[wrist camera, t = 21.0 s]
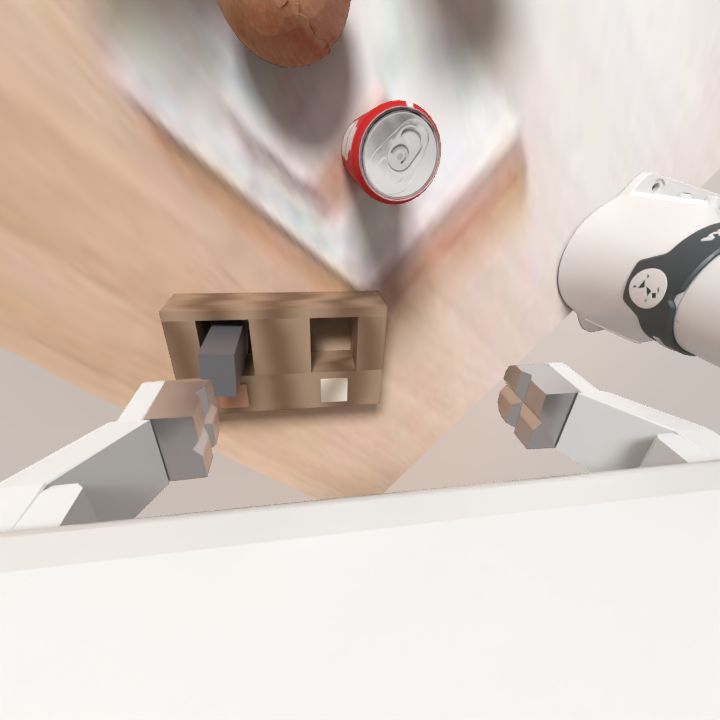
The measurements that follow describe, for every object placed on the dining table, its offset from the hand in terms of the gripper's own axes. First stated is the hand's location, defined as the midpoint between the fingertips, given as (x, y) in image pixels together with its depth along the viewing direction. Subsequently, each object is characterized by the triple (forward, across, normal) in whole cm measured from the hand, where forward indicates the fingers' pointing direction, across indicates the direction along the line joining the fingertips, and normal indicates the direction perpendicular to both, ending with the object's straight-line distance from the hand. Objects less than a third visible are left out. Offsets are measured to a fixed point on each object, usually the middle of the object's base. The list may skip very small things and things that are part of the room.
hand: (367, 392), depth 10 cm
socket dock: (+31, +4, +13) cm, 34 cm away
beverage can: (+31, -5, -6) cm, 32 cm away
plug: (+31, +9, +12) cm, 35 cm away
